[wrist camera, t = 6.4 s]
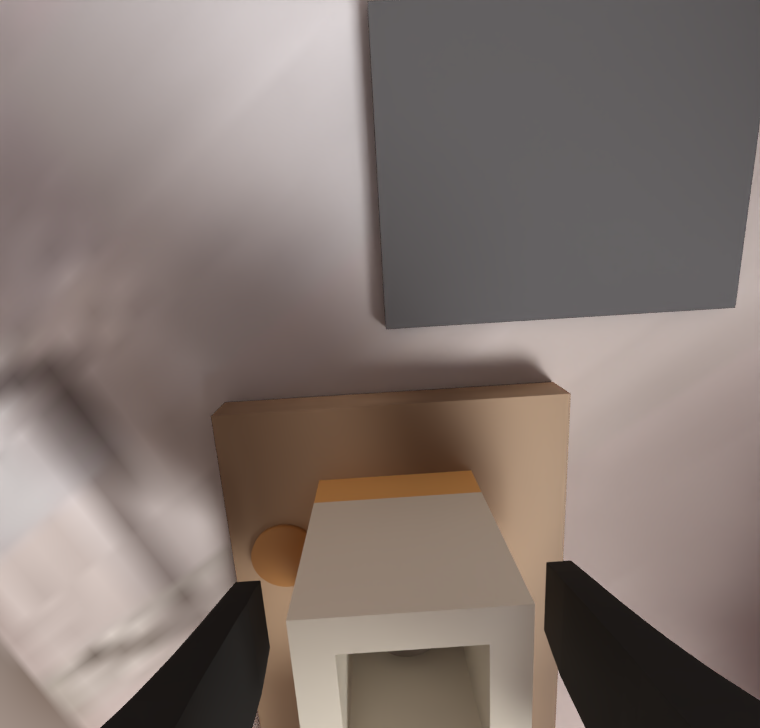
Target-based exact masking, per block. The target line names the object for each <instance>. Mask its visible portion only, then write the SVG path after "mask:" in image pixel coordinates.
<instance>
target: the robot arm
mask: <svg viewBox="0 0 760 728" xmlns="http://www.w3.org/2000/svg"><path fill="white" fill-rule="evenodd" d="M544 631H545V634H546V637H547V640H548V643H549V646H550V649H551V651H552V654H553V657H554V660H555V662H556V665H557V668H558V670H559V673H560V676H561V678H562V680H563V682H564V684H565V686H566V688H567V690H568V692H569V695H570V697H571V699H572V701H573V703H574V705H575V707H576V709H577V711H578V713H579V715H580V717H581V719H582V722H583V724H584V726H585V728H760V700H758V699H756V698H755V697H753V696H752V695H750V694H749V693H747V692H746V691H744V690H742V689H741V688H739V687H738V686H736V685H735V684H733V683H732V682H730V681H728V680H727V679H725V678H724V677H722V676H721V675H719V674H718V673H716V672H715V671H713V670H712V669H710V668H709V667H707V666H706V665H704V664H703V663H701V662H700V661H699V660H697V659H696V658H694V657H693V656H692V655H690V654H689V653H687V652H686V651H685V650H683V649H682V648H680V647H679V646H678V645H676V644H675V643H673V642H672V641H671V640H669V639H668V638H667V637H665V636H664V635H663V634H661V633H660V632H659V631H657V630H656V629H655V628H653V627H652V626H651V625H650V624H648V623H647V622H646V621H644V620H643V619H642V618H641V617H639V616H638V615H637V614H635V613H634V612H633V611H632V610H630V609H629V608H628V607H627V606H625V605H624V604H623V603H622V602H620V601H619V600H618V599H617V598H616V597H614V596H613V595H612V594H611V593H609V592H608V591H607V590H606V589H605V588H603V587H602V586H601V585H600V584H599V583H597V582H596V581H595V580H594V579H593V578H591V577H590V576H589V575H588V574H587V573H585V572H584V571H583V570H582V569H580V568H579V567H578V566H577V565H575V564H574V563H573V562H572V561H557V562H546V586H545V614H544ZM269 651H270V643H269V636H268V630H267V623H266V616H265V609H264V602H263V595H262V588H261V581H260V580H259V581H243V582H236V583H235V584H234V585H233V586H232V587H231V588H230V589H229V591H228V592H227V593H226V594H225V595H224V596H223V598H222V599H221V600H220V601H219V602H218V604H217V605H216V606H215V607H214V608H213V609H212V611H211V612H210V613H209V614H208V615H207V617H206V618H205V619H204V620H203V621H202V622H201V624H200V625H199V626H198V627H197V628H196V629H195V631H194V632H193V633H192V634H191V635H190V636H189V637H188V638H187V640H186V641H185V642H184V643H183V644H182V645H181V646H180V648H179V649H178V650H177V651H176V652H175V653H174V654H173V655H172V656H171V658H170V659H169V660H168V661H167V662H166V663H165V664H164V665H163V666H162V667H161V668H160V669H159V670H158V671H157V672H156V673H155V674H154V676H153V677H152V678H151V679H150V680H149V681H148V682H147V683H146V684H145V685H144V686H143V687H142V688H141V689H140V690H139V691H138V692H137V693H136V694H135V695H134V696H133V697H132V698H131V699H130V700H129V701H128V702H127V703H126V704H125V705H124V706H123V707H122V708H121V709H120V710H119V711H118V712H117V713H116V714H115V715H114V716H113V717H111V718H110V719H109V720H108V721H107V722H106V723H105V724H104V725H103V726H102V727H101V728H252V727H253V723H254V720H255V716H256V713H257V709H258V706H259V702H260V698H261V695H262V690H263V685H264V679H265V674H266V668H267V663H268V657H269Z"/></svg>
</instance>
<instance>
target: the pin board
mask: <svg viewBox="0 0 760 728" xmlns="http://www.w3.org/2000/svg"><path fill="white" fill-rule="evenodd" d="M570 395H571V394H570V393H569V392H567V391H566V390H564V389H563V388H561V387H560V386H558V385H557V384H555V383H554V382H544V383H528V384H512V385H496V386H480V387H464V388H448V389H432V390H416V391H400V392H384V393H368V394H352V395H336V396H320V397H304V398H288V399H272V400H256V401H240V402H225V403H224V404H223V405H222V406H221V407H220V408H219V409H218V410H217V411H216V412H215V413H214V414H213V415H212V416H211V420H212V427H213V433H214V439H215V446H216V452H217V458H218V464H219V471H220V477H221V483H222V489H223V496H224V502H225V508H226V515H227V521H228V527H229V533H230V540H231V546H232V552H233V559H234V565H235V571H236V577H237V582H243V581H259V580H260V581H261V588H262V595H263V602H264V609H265V616H266V623H267V630H268V636H269V643H270V651H269V657H268V663H267V668H266V674H265V679H264V685H263V690H262V695H261V698H260V702H259V706H258V715H259V722H260V728H300V722H299V715H298V707H297V700H296V693H295V685H294V678H293V670H292V663H291V655H290V648H289V640H288V633H287V625H286V618H287V614H288V610H289V606H290V601H291V597H292V593H293V589H294V585H295V580H296V576H297V572H298V568H299V564H300V559H301V555H302V551H303V547H304V542H305V538H306V534H307V530H308V526H309V521H310V517H311V513H312V509H313V505H314V500H315V496H316V492H317V488H318V484H319V480H332V479H347V478H363V477H378V476H393V475H409V474H424V473H439V472H455V471H470V470H471V471H472V473H473V475H474V477H475V479H476V482H477V484H478V486H479V488H480V490H481V492H482V494H483V496H484V498H485V500H486V503H487V505H488V507H489V509H490V511H491V513H492V515H493V517H494V519H495V521H496V523H497V526H498V528H499V530H500V532H501V534H502V536H503V538H504V540H505V542H506V544H507V547H508V549H509V551H510V553H511V555H512V557H513V559H514V561H515V563H516V565H517V567H518V570H519V572H520V574H521V576H522V578H523V580H524V582H525V584H526V586H527V588H528V590H529V593H530V595H531V597H532V599H533V601H534V603H535V625H534V661H533V698H532V728H555V720H556V699H557V677H558V668H557V665H556V662H555V660H554V657H553V654H552V651H551V649H550V646H549V643H548V640H547V637H546V634H545V631H544V614H545V586H546V562H557V561H563V547H564V525H565V503H566V482H567V460H568V438H569V417H570ZM429 649H430V648H429ZM429 649H414V650H399V651H386V652H388V653H390V654H392V655H396V656H401V657H410V656H416V655H419V654H422V653H424V652H426V651H427V650H429Z"/></svg>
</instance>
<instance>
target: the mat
mask: <svg viewBox="0 0 760 728" xmlns="http://www.w3.org/2000/svg"><path fill="white" fill-rule="evenodd" d="M368 22H369V40H370V58H371V76H372V93H373V111H374V129H375V147H376V164H377V182H378V200H379V218H380V235H381V253H382V271H383V289H384V306H385V324H386V329H397V328H413V327H430V326H446V325H462V324H479V323H495V322H511V321H527V320H544V319H560V318H576V317H592V316H609V315H625V314H641V313H657V312H674V311H690V310H706V309H722V308H735V305H736V298H737V290H738V283H739V275H740V267H741V260H742V252H743V245H744V237H745V230H746V222H747V215H748V207H749V200H750V192H751V185H752V177H753V169H754V162H755V154H756V147H757V139H758V132H759V124H760V0H383V1H368Z"/></svg>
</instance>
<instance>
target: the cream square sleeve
mask: <svg viewBox="0 0 760 728" xmlns="http://www.w3.org/2000/svg"><path fill="white" fill-rule="evenodd" d="M286 625H287V633H288V640H289V648H290V655H291V663H292V670H293V678H294V685H295V693H296V700H297V707H298V715H299V722H300V728H532V698H533V661H534V625H535V603H534V601H533V599H532V597H531V595H530V593H529V590H528V588H527V586H526V584H525V582H524V580H523V578H522V576H521V574H520V572H519V570H518V567H517V565H516V563H515V561H514V559H513V557H512V555H511V553H510V551H509V549H508V547H507V544H506V542H505V540H504V538H503V536H502V534H501V532H500V530H499V528H498V526H497V523H496V521H495V519H494V517H493V515H492V513H491V511H490V509H489V507H488V505H487V503H486V500H485V498H484V496H483V494H482V492H481V490H480V488H479V486H478V484H477V482H476V479H475V477H474V475H473V473H472V471H471V470H470V471H455V472H439V473H424V474H409V475H393V476H378V477H363V478H347V479H332V480H319V484H318V488H317V492H316V496H315V500H314V505H313V509H312V513H311V517H310V521H309V526H308V530H307V534H306V538H305V542H304V547H303V551H302V555H301V559H300V564H299V568H298V572H297V576H296V580H295V585H294V589H293V593H292V597H291V601H290V606H289V610H288V614H287V618H286ZM429 648H430V649H429ZM414 649H429V650H427V651H426V652H424V653H422V654H419V655H416V656H410V657H401V656H396V655H392V654H390V653H388V652H386V651H399V650H414Z"/></svg>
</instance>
